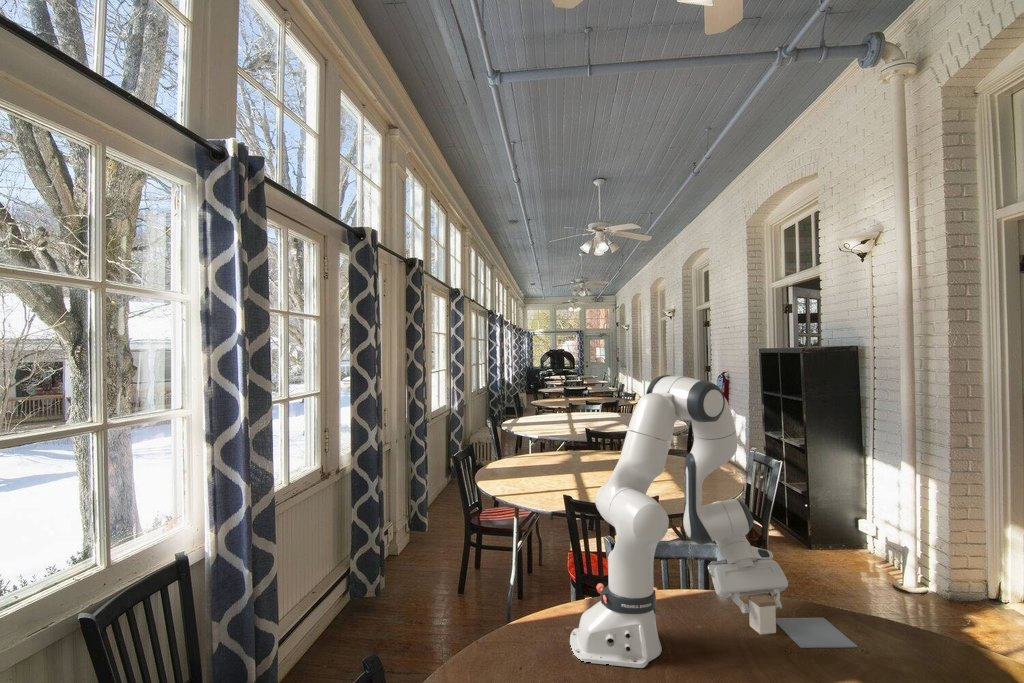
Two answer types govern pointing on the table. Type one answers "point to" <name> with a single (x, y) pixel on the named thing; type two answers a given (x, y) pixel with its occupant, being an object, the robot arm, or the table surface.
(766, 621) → the cream block
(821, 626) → the slate mat
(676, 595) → the table surface
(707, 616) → the table surface
